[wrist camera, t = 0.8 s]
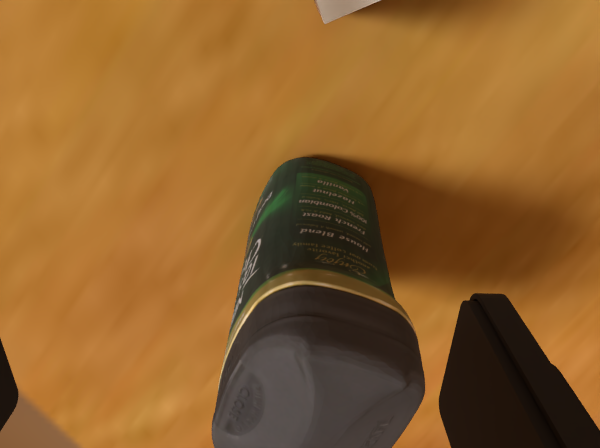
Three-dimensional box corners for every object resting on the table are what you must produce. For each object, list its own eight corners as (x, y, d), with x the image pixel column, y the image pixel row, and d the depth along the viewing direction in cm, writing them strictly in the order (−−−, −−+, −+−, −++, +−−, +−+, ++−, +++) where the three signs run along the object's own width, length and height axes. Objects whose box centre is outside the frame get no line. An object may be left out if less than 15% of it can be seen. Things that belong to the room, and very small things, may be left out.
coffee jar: (278, 138, 31) (257, 321, 15) (386, 178, 32) (478, 386, 16) (234, 255, 35) (180, 500, 19) (332, 286, 37) (361, 539, 20)
